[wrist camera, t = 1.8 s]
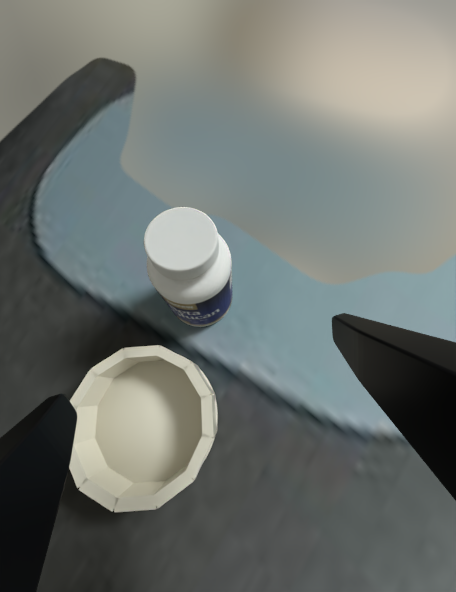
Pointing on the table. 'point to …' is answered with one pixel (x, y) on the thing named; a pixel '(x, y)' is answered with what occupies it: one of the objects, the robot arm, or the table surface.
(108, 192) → the table surface
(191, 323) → the pill bottle
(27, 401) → the table surface
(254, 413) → the table surface
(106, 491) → the bowl
